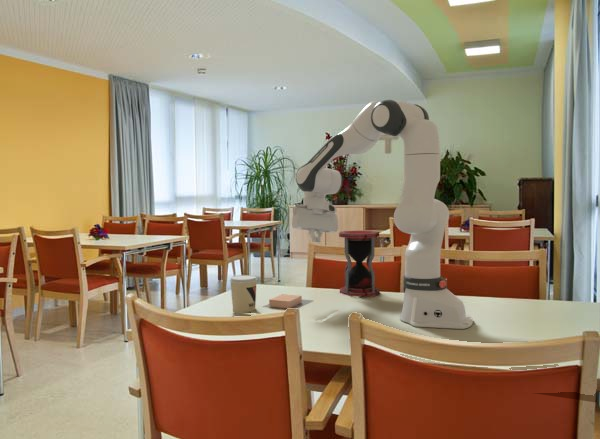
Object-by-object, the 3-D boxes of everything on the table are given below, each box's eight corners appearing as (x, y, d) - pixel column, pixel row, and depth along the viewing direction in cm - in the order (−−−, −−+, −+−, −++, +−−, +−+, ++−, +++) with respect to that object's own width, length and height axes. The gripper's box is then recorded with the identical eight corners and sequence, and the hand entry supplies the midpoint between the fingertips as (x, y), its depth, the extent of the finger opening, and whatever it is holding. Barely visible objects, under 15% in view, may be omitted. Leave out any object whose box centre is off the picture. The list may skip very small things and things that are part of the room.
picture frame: (301, 295, 187) (289, 301, 178) (301, 302, 188) (289, 309, 179) (282, 294, 191) (269, 299, 182) (282, 301, 191) (269, 306, 182)
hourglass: (361, 299, 195) (360, 234, 193) (331, 293, 207) (330, 232, 205) (387, 293, 206) (387, 231, 204) (357, 287, 218) (357, 229, 216)
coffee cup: (253, 314, 174) (252, 280, 174) (227, 313, 176) (226, 279, 176) (260, 308, 184) (259, 275, 183) (235, 307, 186) (235, 274, 185)
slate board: (313, 302, 191) (313, 300, 191) (294, 312, 177) (294, 310, 177) (283, 299, 197) (283, 297, 197) (262, 308, 183) (262, 306, 182)
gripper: (297, 201, 190) (298, 238, 187) (339, 208, 202) (341, 242, 199) (288, 205, 195) (289, 241, 192) (329, 211, 207) (331, 245, 204)
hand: (316, 242), depth 195 cm, fingers closed
